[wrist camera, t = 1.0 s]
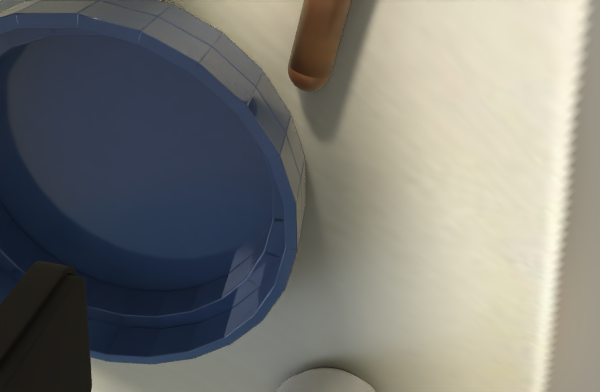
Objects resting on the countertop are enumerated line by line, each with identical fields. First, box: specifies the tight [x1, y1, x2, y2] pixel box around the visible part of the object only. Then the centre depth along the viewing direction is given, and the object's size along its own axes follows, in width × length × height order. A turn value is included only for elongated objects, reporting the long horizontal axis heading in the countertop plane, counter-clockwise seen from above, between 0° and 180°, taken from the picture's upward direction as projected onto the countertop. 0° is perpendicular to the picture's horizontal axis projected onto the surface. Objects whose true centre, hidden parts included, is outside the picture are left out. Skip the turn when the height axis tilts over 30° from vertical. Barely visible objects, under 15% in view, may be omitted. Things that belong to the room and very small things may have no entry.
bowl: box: [0, 0, 306, 364], centre depth 29 cm, size 19×19×5 cm
